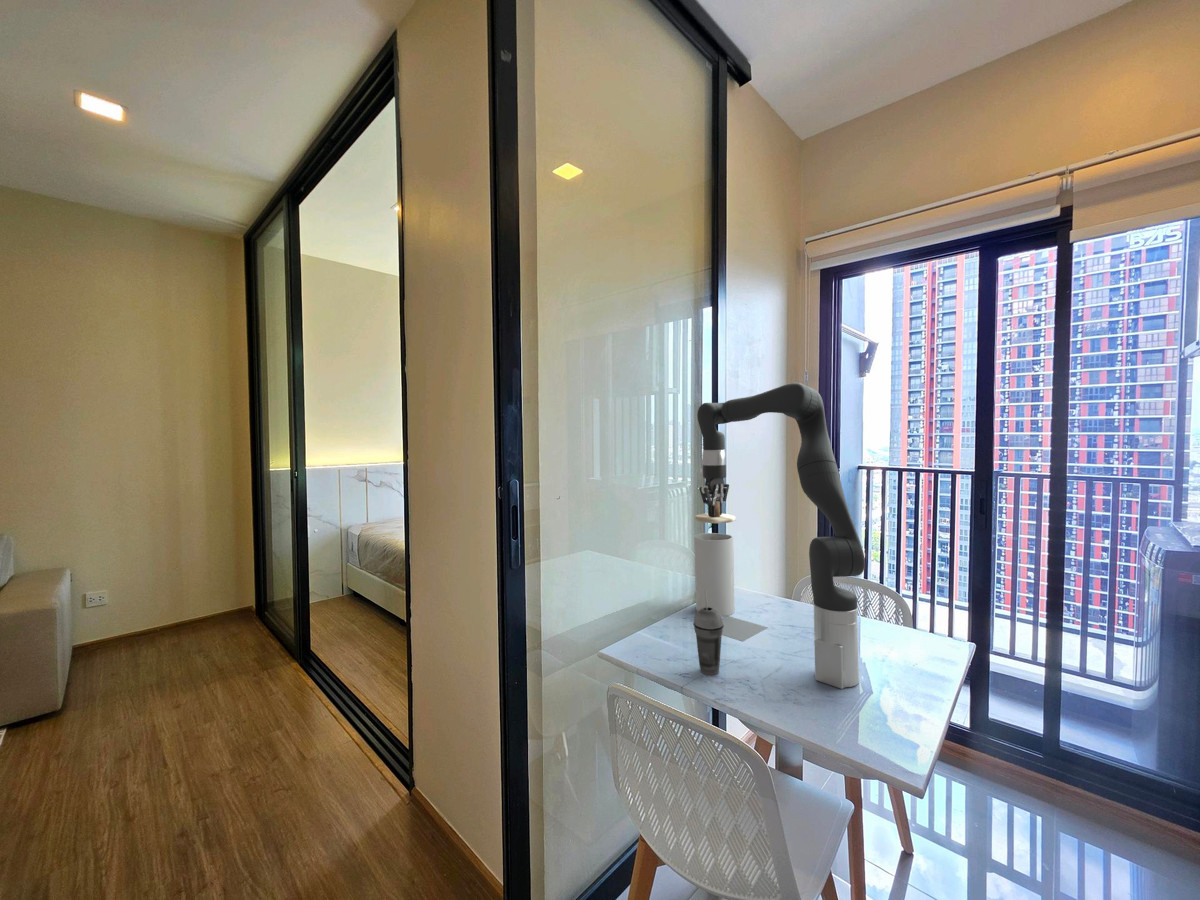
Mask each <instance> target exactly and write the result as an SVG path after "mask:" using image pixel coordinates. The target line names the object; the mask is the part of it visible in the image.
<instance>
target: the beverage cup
mask: <svg viewBox="0 0 1200 900" xmlns="http://www.w3.org/2000/svg"><path fill="white" fill-rule="evenodd" d="M704 594H705V608H702V609H700V610H699V611H697V612H696V613H695V615H694V618H693V623H692V624H693V627H694V628H693V629H694V633H695V638H696V647H697V653H698V654H697V656H698V663H699V664H698V665H699V668H700V669H699V670H700V673H701V674H702V675H705V676H711V677H712V676H717V675H718V674H719V673H720V667H721V653H722V652H721V648H722V636H723V635H722V632H723V627H724V626H723V622H722V618H723V617H721V616H720V614H719V613H718V612H717V611H716V610H715V609H713V608H710V607H708V606H707V594H706V589H704Z"/></svg>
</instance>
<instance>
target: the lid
mask: <svg viewBox="0 0 1200 900" xmlns="http://www.w3.org/2000/svg"><path fill="white" fill-rule="evenodd" d="M694 520H695V521H696V522H701V523H705V524H706V523H707V524H726V523H733V522H735V521H737V520H736V515H734V514H730V513H722V515H720V501H715V517H710V516H709V515H708V512H707V513H699V514H696V515H694Z"/></svg>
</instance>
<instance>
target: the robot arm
mask: <svg viewBox="0 0 1200 900" xmlns="http://www.w3.org/2000/svg"><path fill="white" fill-rule="evenodd" d="M766 413H767V414H768V413H769V414H770V413H771V414H772V413H778V414H784V416H787V417H789V418H792V419H794V420H795V421H796V424H797V426H798V429H799V433H800V438H801V444H800V448H799V451H798V454H797V459H796V469H797V473H798V478H799V483H800V486H801V489H802V491H803V493H804V495H805V496H806V497H807V498H808V499H809V500H810V501H811V502H812V503H813V504H814V505H815V506H816V507H817V508H818V510H820V512H822V513H823V515H824V516H825V518H826V519H827V521H828V522H829V523H830V525H831V527H832V531H833V533H834V536H817V537H814V538H813V539H812V540H811V541H810V544H809V551H808V554H809V555H808V557H809V567H810V568H809V569H810V584H811V592H812V596H813V597H812V598H813V601H812V602H813V637H814V640H813V641H814V642H813V644H814V677H815V678H814V679H815V681H818V682H821V683H824V684H827V685H829V686H832V687H835V688H838V689H841V690H844V689H845V688H851V687H855V686H857V685H859V682H860V677H859V676H860V673H859V672H860V669H859V667H860V666H859V637H858V636H859V631H858V629H859V628H858V627H859V626H858V599H857V596H856V594H855V593H854V592H852V591H850V590H848V589H845V588H842V587H839V586H836V585H834V578H838V577H839V578H842V577H843V578H844V577H845V578H846V577H858V576H860V575H862V574H863V572H864V571H865V566H866V565H865V564H866V562H865V561H866V560H865V554H864V553H865V552H864V550H863V546H862V543H861V540H860V538H859V535H858V533H857V532H858V531H857V530H856V527H855V523H854V521H853V518H852V516H851V513H850V510H849V507H848V504H847V500H846V498H845V494H844V489H843V485H842V482H841V477H840V473H839V469H838V465H837V462H836V458H835V455H834V452H833V448H832V443H831V440H830V436H829V432H828V428H827V427H828V426H827V422H826V415H825V414H826V413H825V408H824V401H823V398H822V396H821V394H820V393H819V392H818V391H817V390H816V389H814V388H813V387H810V386H808V385H805V384H803V383H801V382H789V383H786V384H783V385H779V386H778V387H775V388H772V389H770V390H766V391H764V392H761V393H757V394H755V395H751V396H750V395H749V396H746V397H738V398H733V399H729V400H727V401H725V402H704V403H702V404H700V406H699V407H698V409H697V412H696V414H697V416H696V417H697V422H698V425H699V430H700V432H701V436H702V477H703V479H705V481H704V485H703V486H699V493H700V495H701V499H702V503H703V504H706V505H707V513H708V515H709V516H710V517H715V501H720V515H722V514H723V504H724V502H727V499H728V498H727V497H728V494H729V489H730V484H728V483H725V481H724V479H726V478H727V455H726V442H725V441H726V436H725V434H724V432H722V431H718V429H717V426H716V425H723V424H725V425H726V424H729V423H734V422H735V423H736V422H744V421H749V420H753V419H755V418H757V417H758V416H760V415H762V414H766Z"/></svg>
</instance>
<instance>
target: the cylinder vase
mask: <svg viewBox="0 0 1200 900" xmlns="http://www.w3.org/2000/svg"><path fill="white" fill-rule="evenodd" d="M693 537H694V538H693V539H694V541H693V542H694V573H695V575H694V576H695V577H694V579H695V608H696V611H697V612H698V611H699V610H700V609H702V608H705V594H704V589H706V594H707V606H708V607H710V608H713V609H715V610H716V611H717V612H718V613H719V614H720V616H721V618H724V617H726V616H731V615H733V614H735V612H736V608H735V607H736V606H735V604H736V602H735V599H736V598H735V571H734V570H735V569H734V568H735V565H734V536H733V535H731V534H726V533H716V532H715V533H714V532H707V533H705V532H704V533H699V534H695V535H693Z"/></svg>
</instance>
